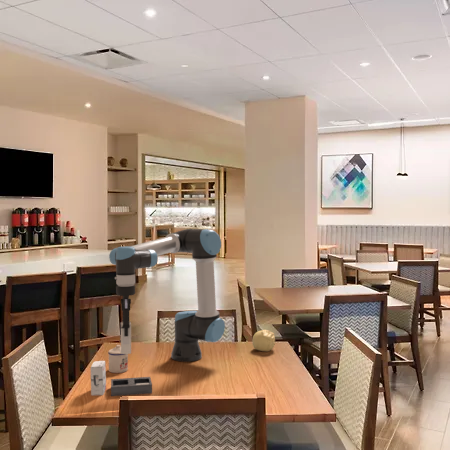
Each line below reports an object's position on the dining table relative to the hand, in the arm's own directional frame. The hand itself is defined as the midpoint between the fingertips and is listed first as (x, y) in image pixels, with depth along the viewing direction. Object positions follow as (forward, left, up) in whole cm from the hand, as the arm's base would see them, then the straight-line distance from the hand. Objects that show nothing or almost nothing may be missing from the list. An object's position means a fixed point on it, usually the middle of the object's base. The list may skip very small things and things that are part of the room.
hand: (126, 342), depth 213 cm
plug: (0, 0, -4) cm, 4 cm away
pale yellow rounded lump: (-73, -50, -21) cm, 91 cm away
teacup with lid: (+2, -31, -20) cm, 37 cm away
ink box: (+11, -1, -20) cm, 23 cm away
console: (-2, 0, -20) cm, 20 cm away
